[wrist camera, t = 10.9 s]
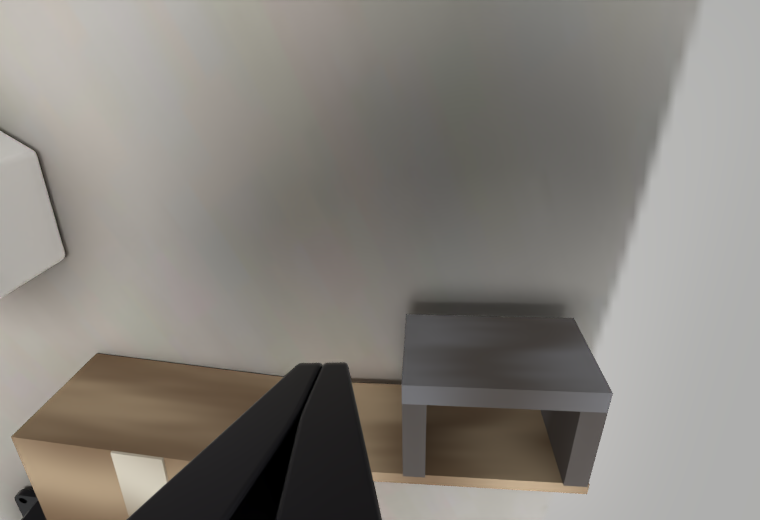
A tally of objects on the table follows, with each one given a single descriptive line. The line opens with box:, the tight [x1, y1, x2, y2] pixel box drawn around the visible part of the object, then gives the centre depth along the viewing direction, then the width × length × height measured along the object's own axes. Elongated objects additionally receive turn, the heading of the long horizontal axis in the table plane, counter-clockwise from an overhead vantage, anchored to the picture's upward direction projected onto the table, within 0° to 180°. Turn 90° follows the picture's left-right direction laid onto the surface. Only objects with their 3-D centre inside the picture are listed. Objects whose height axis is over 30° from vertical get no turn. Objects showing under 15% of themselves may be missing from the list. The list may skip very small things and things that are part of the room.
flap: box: [352, 314, 613, 494], centre depth 17 cm, size 11×5×5 cm, turn 92°
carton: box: [11, 354, 283, 520], centre depth 22 cm, size 11×10×5 cm
